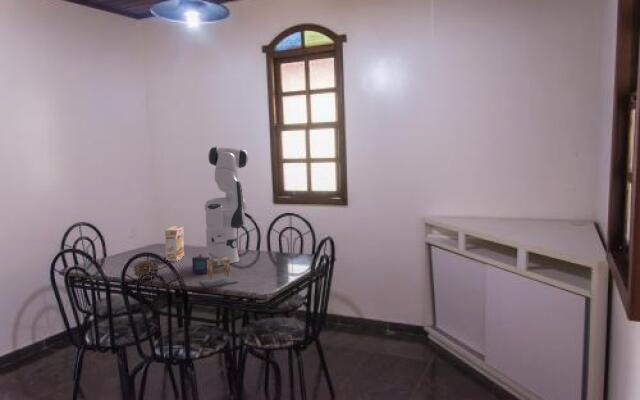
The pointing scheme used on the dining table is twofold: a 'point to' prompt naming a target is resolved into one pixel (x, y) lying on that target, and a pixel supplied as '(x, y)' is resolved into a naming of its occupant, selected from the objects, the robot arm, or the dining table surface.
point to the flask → (199, 264)
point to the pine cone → (146, 268)
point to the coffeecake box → (174, 243)
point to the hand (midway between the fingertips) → (216, 263)
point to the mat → (218, 282)
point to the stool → (210, 269)
